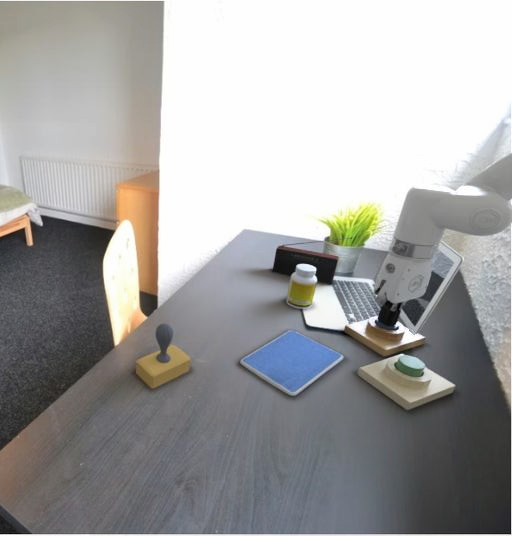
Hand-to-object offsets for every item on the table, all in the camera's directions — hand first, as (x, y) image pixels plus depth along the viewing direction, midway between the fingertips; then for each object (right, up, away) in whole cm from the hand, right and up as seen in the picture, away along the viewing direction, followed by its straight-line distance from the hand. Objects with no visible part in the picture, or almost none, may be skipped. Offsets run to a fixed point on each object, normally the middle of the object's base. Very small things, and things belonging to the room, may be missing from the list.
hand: (386, 322), depth 84 cm
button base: (0, -4, +2) cm, 5 cm away
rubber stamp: (-51, -10, -6) cm, 53 cm away
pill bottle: (-12, +2, +16) cm, 20 cm away
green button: (-5, -7, -13) cm, 16 cm away
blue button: (0, -2, +1) cm, 2 cm away
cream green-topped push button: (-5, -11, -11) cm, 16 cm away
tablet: (-24, -8, -4) cm, 25 cm away
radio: (-3, +9, +30) cm, 31 cm away
